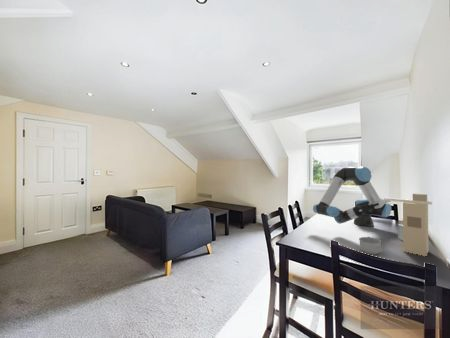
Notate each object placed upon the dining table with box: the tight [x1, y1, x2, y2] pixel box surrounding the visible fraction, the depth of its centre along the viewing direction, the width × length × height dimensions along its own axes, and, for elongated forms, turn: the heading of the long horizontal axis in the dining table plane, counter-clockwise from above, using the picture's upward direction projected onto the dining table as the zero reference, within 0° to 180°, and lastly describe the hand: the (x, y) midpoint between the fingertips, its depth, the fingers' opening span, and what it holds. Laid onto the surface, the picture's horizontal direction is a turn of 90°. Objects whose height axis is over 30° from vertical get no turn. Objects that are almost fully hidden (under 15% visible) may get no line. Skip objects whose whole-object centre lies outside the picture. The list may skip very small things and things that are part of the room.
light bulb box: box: [397, 223, 403, 242], centre depth 139 cm, size 11×7×11 cm, turn 168°
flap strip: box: [383, 193, 433, 205], centre depth 125 cm, size 4×22×6 cm, turn 40°
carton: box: [402, 202, 429, 257], centre depth 121 cm, size 12×10×30 cm
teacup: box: [359, 236, 382, 256], centre depth 121 cm, size 14×11×8 cm
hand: (386, 200), depth 132 cm, fingers open, 13 cm apart
